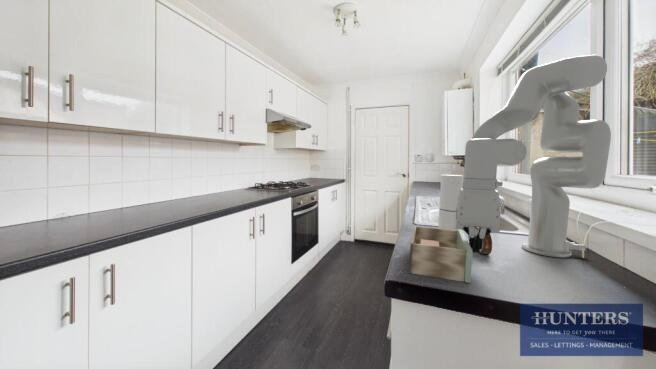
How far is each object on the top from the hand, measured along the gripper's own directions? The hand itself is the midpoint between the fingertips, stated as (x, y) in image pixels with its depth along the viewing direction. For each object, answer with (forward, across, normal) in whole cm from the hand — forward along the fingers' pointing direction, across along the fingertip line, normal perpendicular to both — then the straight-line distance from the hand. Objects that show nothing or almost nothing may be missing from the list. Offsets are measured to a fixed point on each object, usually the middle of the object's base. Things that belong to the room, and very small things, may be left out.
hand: (475, 250), depth 70 cm
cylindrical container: (+5, +5, -22) cm, 23 cm away
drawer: (+5, +9, 0) cm, 10 cm away
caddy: (+5, +10, 0) cm, 11 cm away
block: (+4, +12, 0) cm, 12 cm away
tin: (+6, -4, -19) cm, 20 cm away
